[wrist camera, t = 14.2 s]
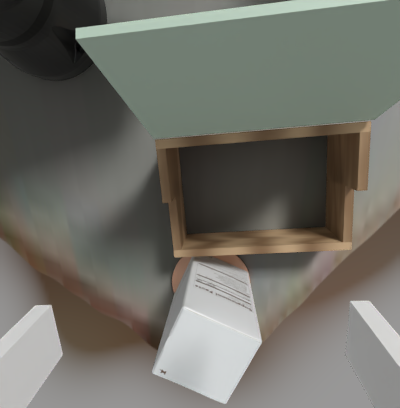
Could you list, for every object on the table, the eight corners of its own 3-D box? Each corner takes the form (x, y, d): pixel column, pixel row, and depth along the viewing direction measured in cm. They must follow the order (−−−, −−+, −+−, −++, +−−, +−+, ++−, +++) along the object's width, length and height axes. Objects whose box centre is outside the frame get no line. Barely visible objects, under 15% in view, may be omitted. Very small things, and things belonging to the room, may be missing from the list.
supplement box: (224, 318, 44) (225, 408, 29) (172, 296, 44) (148, 375, 29) (250, 271, 42) (265, 343, 27) (195, 247, 41) (181, 307, 27)
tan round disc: (176, 316, 45) (176, 318, 45) (168, 247, 42) (167, 249, 42) (251, 314, 44) (251, 317, 43) (248, 243, 41) (248, 245, 41)
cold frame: (181, 240, 42) (170, 268, 33) (170, 138, 39) (155, 139, 30) (332, 233, 40) (363, 260, 31) (335, 124, 36) (371, 121, 28)
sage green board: (75, 39, 14) (75, 28, 14) (153, 138, 29) (153, 133, 29) (552, -21, 12) (549, -33, 12) (374, 119, 27) (374, 113, 27)
